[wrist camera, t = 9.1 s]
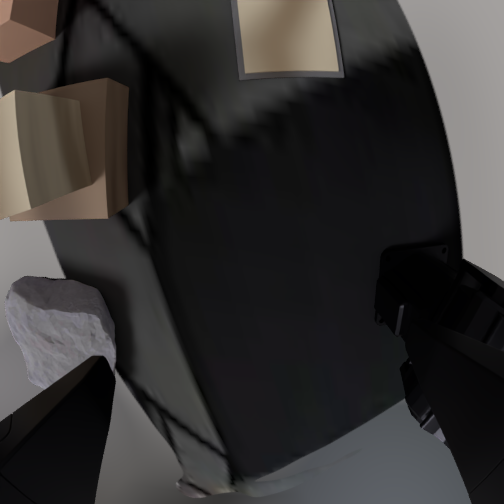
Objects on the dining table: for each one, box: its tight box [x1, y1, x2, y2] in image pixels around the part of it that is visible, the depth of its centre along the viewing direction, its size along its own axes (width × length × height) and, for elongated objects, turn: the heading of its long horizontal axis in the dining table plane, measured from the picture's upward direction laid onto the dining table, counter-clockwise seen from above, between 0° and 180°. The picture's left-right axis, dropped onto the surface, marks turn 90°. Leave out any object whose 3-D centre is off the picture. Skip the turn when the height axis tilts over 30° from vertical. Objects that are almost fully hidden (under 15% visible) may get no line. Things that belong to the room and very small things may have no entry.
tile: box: [231, 0, 344, 81], centre depth 15 cm, size 7×7×1 cm
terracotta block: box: [0, 0, 59, 63], centre depth 10 cm, size 5×5×6 cm
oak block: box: [0, 90, 92, 220], centre depth 11 cm, size 5×5×6 cm
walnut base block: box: [10, 78, 129, 221], centre depth 16 cm, size 8×8×4 cm
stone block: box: [5, 276, 116, 389], centre depth 22 cm, size 12×5×10 cm
